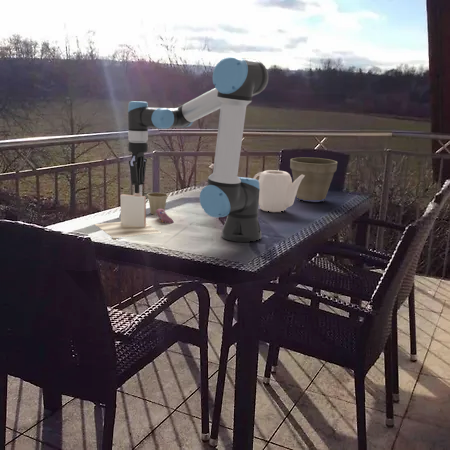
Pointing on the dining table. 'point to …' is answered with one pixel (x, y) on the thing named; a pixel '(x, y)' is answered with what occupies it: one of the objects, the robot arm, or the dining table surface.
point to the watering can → (277, 190)
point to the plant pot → (313, 176)
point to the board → (125, 230)
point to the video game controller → (163, 216)
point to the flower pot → (157, 201)
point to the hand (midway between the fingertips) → (138, 200)
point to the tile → (133, 210)
